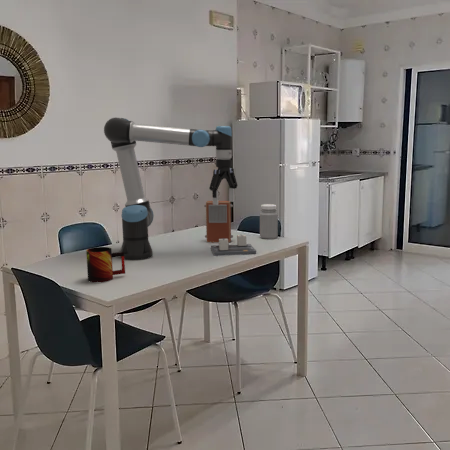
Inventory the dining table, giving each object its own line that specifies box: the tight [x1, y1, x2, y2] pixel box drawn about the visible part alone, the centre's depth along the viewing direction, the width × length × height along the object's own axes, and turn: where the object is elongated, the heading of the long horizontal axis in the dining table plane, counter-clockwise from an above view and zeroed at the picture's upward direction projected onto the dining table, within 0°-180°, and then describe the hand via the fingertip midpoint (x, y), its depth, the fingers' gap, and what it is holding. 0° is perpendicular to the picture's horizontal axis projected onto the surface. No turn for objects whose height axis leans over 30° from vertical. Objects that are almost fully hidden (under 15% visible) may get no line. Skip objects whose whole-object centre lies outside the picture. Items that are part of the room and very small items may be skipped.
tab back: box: [236, 234, 247, 246], centre depth 256 cm, size 4×4×5 cm
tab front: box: [218, 238, 229, 250], centre depth 247 cm, size 4×4×5 cm
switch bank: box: [210, 243, 257, 257], centre depth 252 cm, size 20×16×2 cm
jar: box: [259, 203, 279, 240], centre depth 283 cm, size 10×10×18 cm
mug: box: [85, 246, 126, 283], centre depth 206 cm, size 10×14×12 cm
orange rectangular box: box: [204, 200, 234, 243], centre depth 274 cm, size 21×7×15 cm
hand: (223, 203), depth 252 cm, fingers open, 13 cm apart
